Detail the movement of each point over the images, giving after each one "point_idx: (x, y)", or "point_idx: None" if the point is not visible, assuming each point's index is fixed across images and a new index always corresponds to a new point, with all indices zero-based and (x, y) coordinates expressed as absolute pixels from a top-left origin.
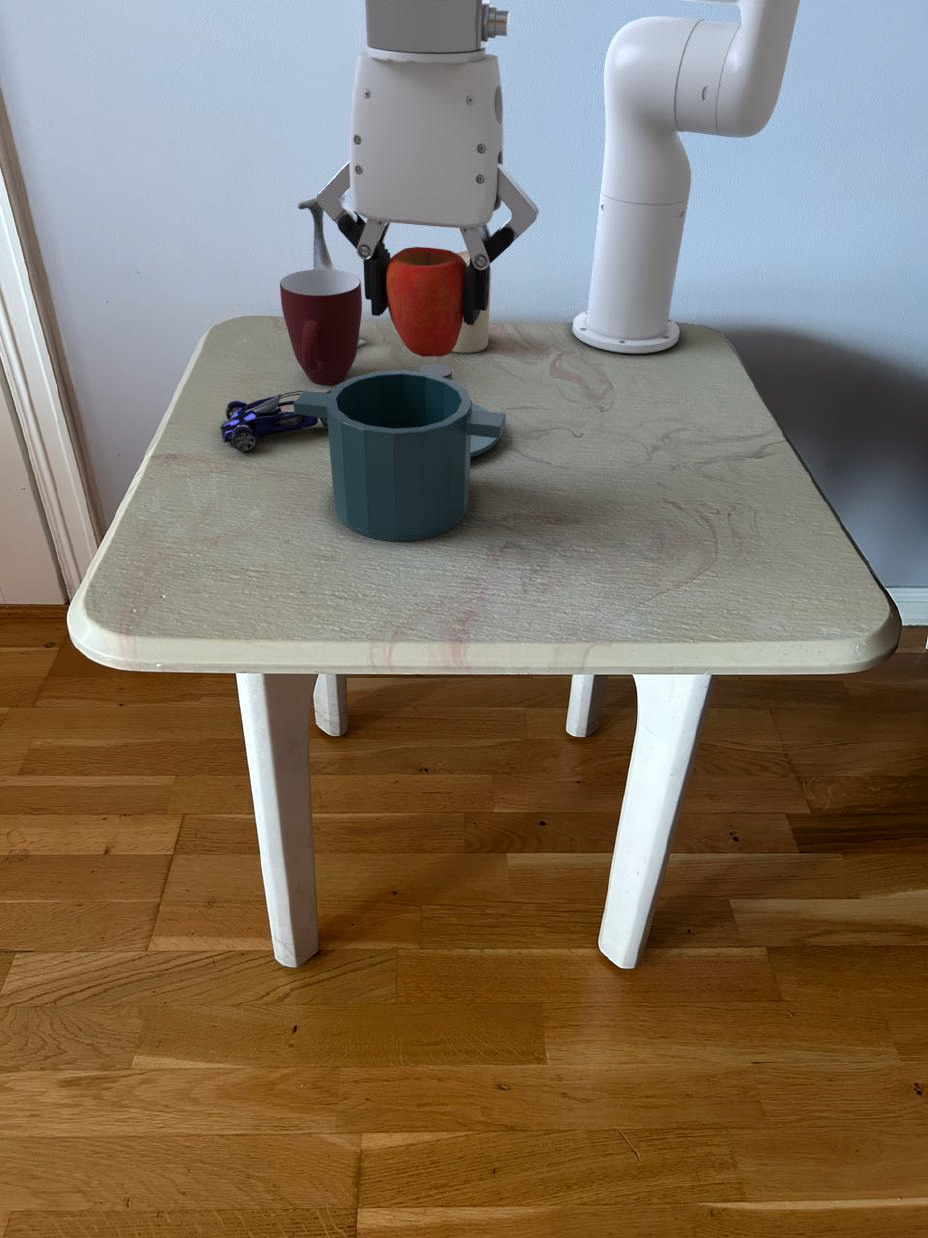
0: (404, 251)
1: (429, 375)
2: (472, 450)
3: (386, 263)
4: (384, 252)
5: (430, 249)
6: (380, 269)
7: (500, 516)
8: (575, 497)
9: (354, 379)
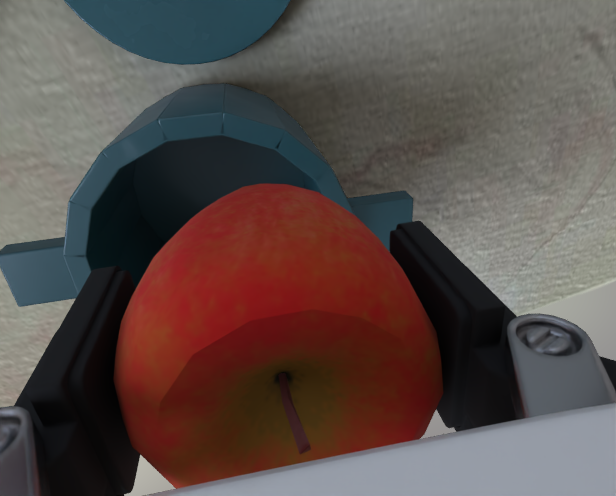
0: (171, 415)
1: (229, 126)
2: (280, 5)
3: (109, 407)
4: (80, 431)
5: (264, 330)
6: (133, 470)
7: (361, 162)
8: (457, 72)
9: (80, 211)
